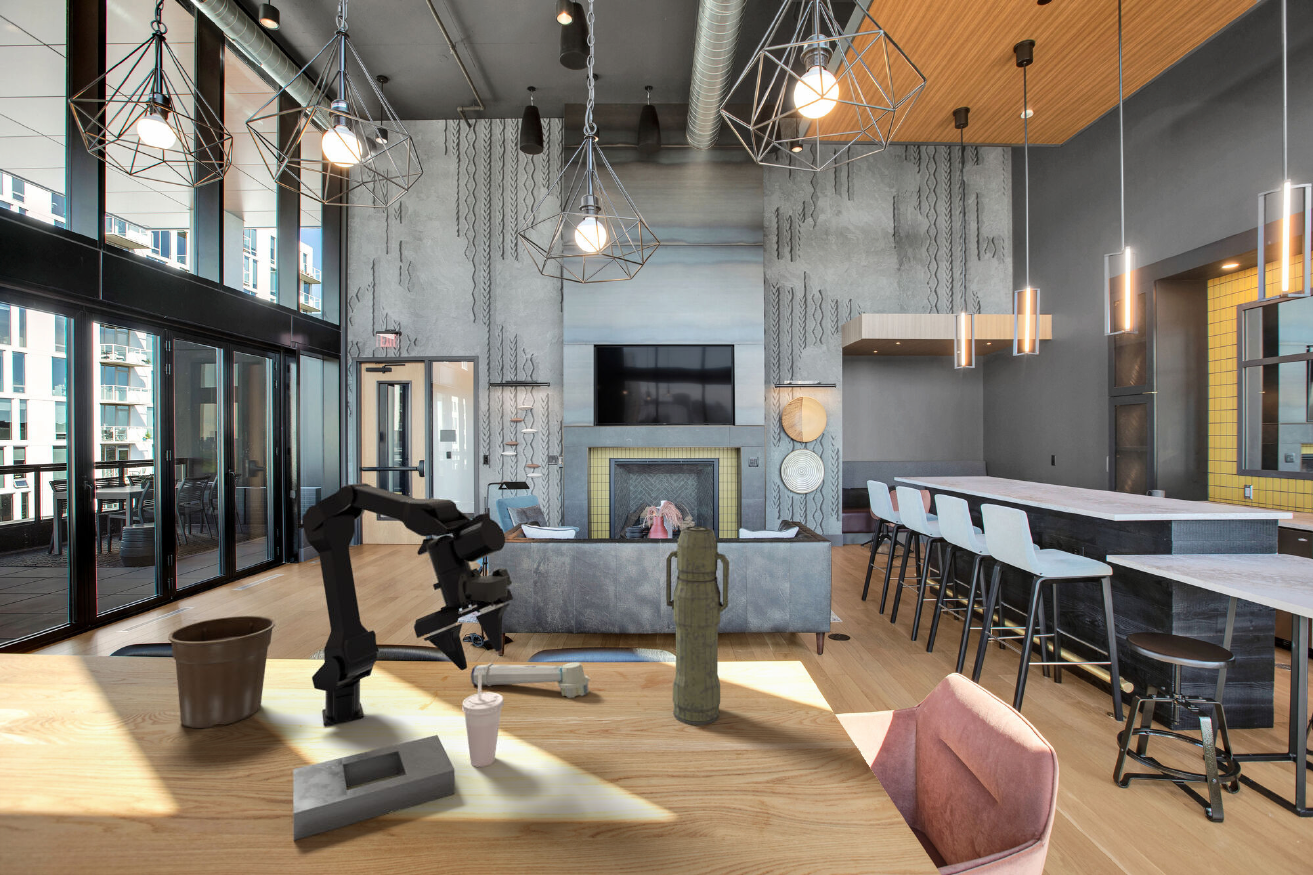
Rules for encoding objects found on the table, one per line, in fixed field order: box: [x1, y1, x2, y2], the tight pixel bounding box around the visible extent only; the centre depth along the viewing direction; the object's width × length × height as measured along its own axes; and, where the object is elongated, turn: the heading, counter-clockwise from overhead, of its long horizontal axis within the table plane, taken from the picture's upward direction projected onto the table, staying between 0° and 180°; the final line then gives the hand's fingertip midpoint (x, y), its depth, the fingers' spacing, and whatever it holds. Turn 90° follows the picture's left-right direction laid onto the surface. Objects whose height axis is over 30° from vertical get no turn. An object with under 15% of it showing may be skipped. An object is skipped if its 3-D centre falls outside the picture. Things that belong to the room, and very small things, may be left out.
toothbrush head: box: [470, 661, 590, 699], centre depth 125 cm, size 5×7×25 cm
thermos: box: [665, 525, 730, 726], centre depth 114 cm, size 9×12×35 cm
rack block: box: [292, 734, 456, 841], centre depth 87 cm, size 12×20×4 cm, turn 121°
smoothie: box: [461, 673, 505, 768], centre depth 97 cm, size 6×6×14 cm
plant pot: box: [167, 615, 276, 729], centre depth 112 cm, size 16×16×16 cm
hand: (482, 659), depth 101 cm, fingers open, 9 cm apart
